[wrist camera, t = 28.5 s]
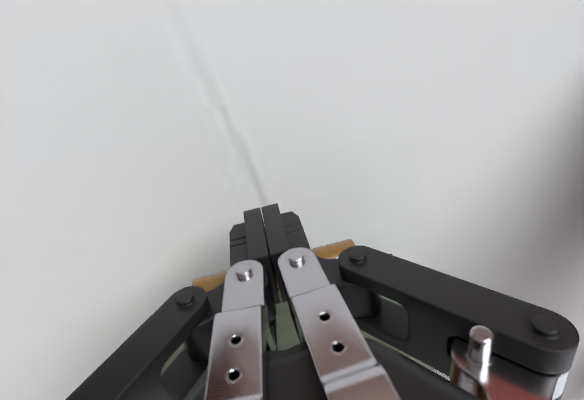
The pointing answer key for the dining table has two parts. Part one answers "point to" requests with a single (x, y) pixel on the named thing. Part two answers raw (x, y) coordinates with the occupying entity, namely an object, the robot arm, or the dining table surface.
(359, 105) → the dining table surface
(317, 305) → the robot arm
